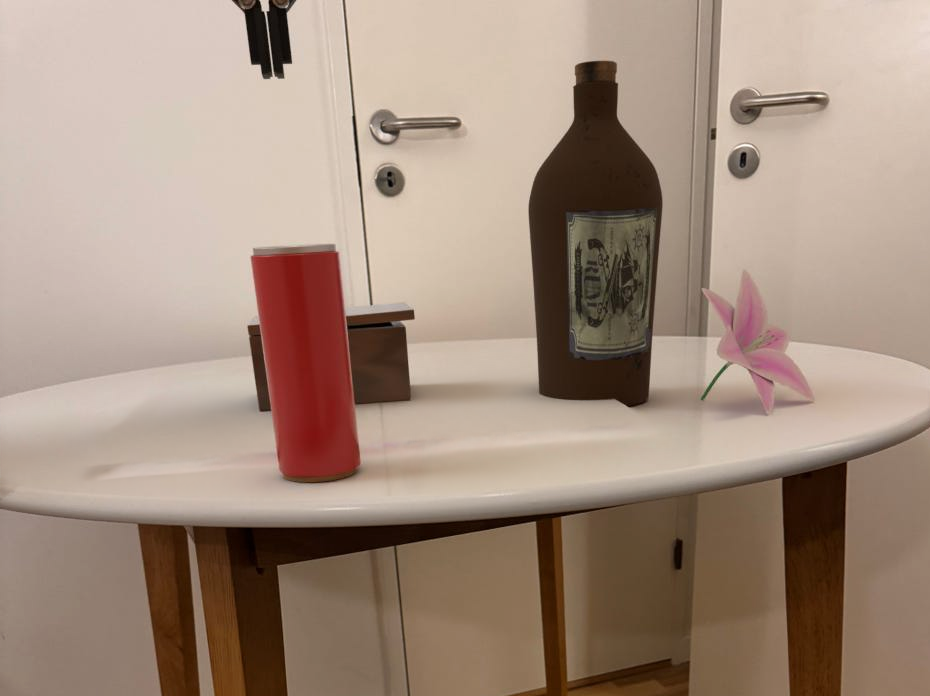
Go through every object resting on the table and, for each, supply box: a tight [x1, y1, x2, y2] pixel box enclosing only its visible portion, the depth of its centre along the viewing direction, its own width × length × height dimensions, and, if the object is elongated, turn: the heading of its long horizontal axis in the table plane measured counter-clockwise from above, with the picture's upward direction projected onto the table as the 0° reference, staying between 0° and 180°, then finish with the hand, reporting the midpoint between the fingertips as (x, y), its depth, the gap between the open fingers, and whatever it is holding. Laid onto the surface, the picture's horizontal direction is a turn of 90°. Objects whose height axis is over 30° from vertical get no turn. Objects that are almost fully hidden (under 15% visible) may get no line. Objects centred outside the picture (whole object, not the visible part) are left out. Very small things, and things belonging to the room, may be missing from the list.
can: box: [249, 243, 362, 477], centre depth 58 cm, size 5×5×13 cm
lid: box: [246, 301, 416, 337], centre depth 80 cm, size 14×8×1 cm, turn 99°
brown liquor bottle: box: [527, 60, 664, 407], centre depth 75 cm, size 11×11×25 cm
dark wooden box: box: [248, 321, 412, 413], centre depth 82 cm, size 13×8×7 cm, turn 99°
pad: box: [282, 467, 358, 483], centre depth 61 cm, size 5×5×1 cm
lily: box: [700, 269, 816, 416], centre depth 75 cm, size 12×12×10 cm
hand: (273, 75), depth 69 cm, fingers closed
